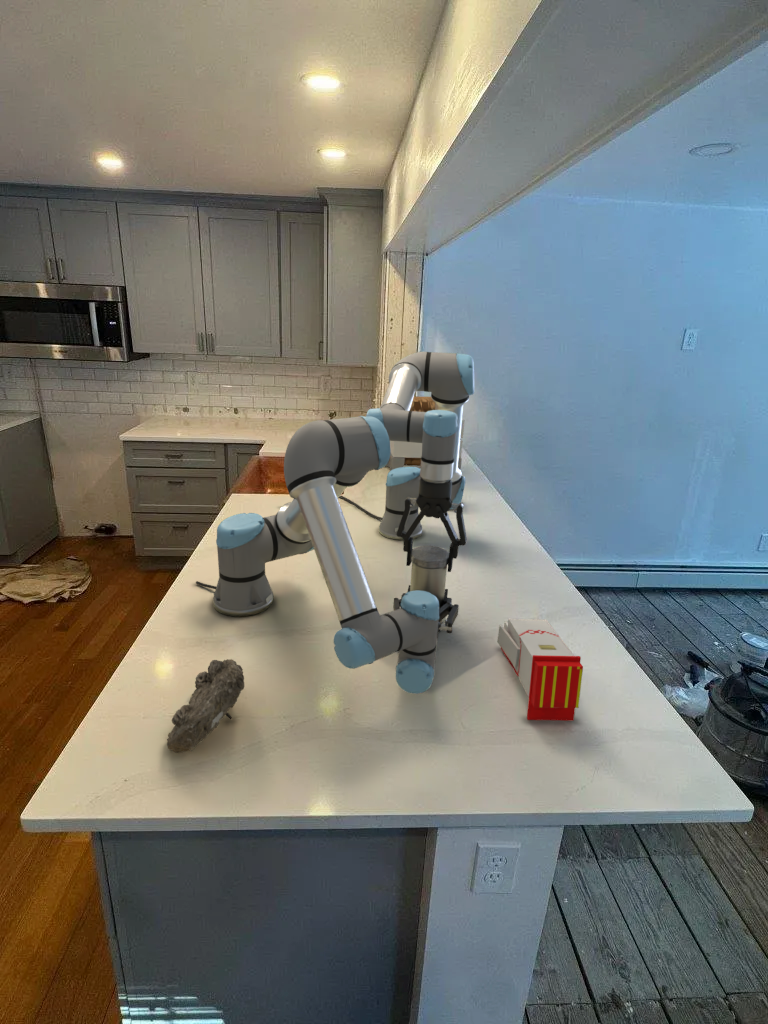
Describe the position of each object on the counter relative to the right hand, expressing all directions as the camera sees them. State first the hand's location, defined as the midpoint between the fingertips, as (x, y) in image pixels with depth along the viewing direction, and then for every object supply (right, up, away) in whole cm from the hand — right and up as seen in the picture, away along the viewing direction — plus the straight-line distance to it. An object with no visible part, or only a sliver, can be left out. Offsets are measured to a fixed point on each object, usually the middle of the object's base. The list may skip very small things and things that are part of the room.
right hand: (429, 566), depth 139 cm
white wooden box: (+6, +32, +136) cm, 140 cm away
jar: (-1, -15, +5) cm, 16 cm away
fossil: (-44, -26, -30) cm, 59 cm away
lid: (0, +3, -1) cm, 3 cm away
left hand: (0, -7, +7) cm, 10 cm away
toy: (+21, -23, -15) cm, 35 cm away
